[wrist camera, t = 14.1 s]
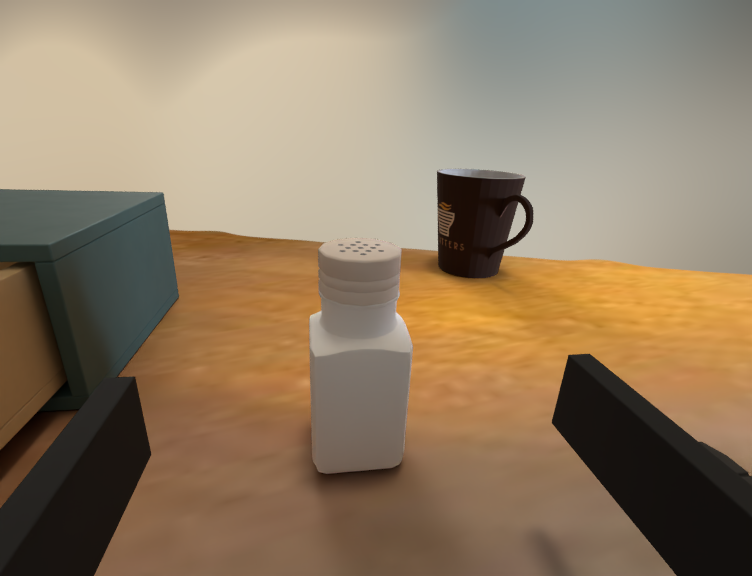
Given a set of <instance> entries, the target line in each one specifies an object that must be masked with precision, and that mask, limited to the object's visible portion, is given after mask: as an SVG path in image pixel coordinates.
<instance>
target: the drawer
mask: <svg viewBox="0 0 752 576" xmlns="http://www.w3.org/2000/svg"><path fill="white" fill-rule="evenodd" d="M66 381H67V376H66V373H65V369H64V366H63V362H62V359H61V355H60V352H59V348H58V345H57V341H56V338H55V334H54V331H53V327H52V324H51V320H50V317H49V313H48V309H47V306H46V302H45V299H44V295H43V292H42V288H41V285H40V281H39V278H38V274H37V271H36V267H35V262H0V450H1V449H2V448H3V447H4V446H5V445H6V444H7V443H8V442H9V441H10V440H11V439H12V438H13V437H14V435H15V434H16V433H17V432H18V431H19V430H20V429H21V428H22V427H23V426H24V425H25V424H26V423H27V422H28V421H29V420H30V419H31V418H32V417H33V416H34V415H35V414H36V412H37V411H38V410H39V409H40V408H41V407H42V406H43V405H44V404H45V403H46V402H47V401H48V400H49V399H50V398H51V397H52V396H53V395H54V394H55V393H56V392H57V390H58V389H59V388H60V387H61V386H62V385H63V384H64V383H65V382H66Z"/></svg>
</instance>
